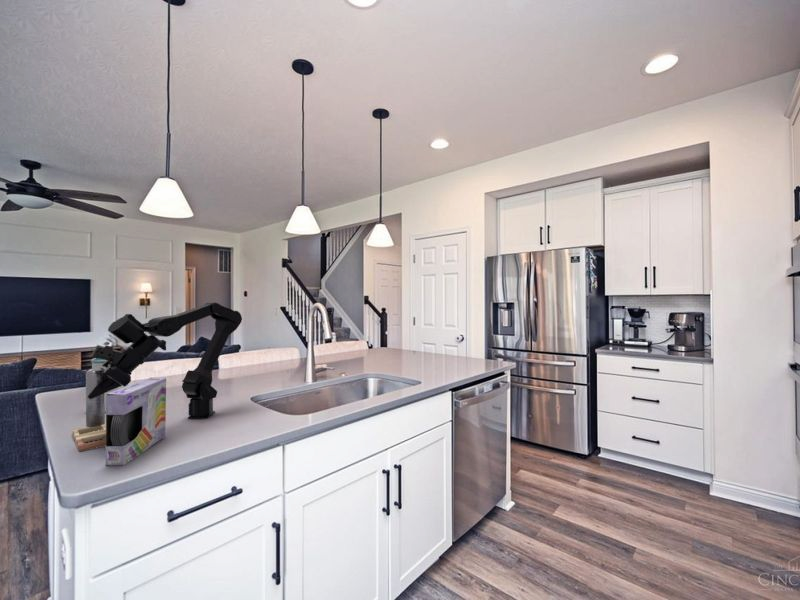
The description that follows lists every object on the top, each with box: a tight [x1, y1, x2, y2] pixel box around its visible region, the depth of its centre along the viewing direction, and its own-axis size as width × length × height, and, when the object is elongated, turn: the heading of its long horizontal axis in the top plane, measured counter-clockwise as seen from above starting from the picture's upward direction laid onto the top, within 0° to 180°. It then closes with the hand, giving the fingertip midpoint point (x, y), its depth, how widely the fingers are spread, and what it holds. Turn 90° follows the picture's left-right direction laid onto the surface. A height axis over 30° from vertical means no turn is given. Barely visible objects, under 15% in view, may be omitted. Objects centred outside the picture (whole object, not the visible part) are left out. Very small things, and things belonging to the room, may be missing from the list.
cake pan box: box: [104, 376, 167, 466], centre depth 95 cm, size 19×5×18 cm, turn 4°
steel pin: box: [85, 369, 106, 427], centre depth 101 cm, size 4×4×15 cm
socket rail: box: [72, 423, 106, 452], centre depth 104 cm, size 18×8×2 cm, turn 46°
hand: (88, 396), depth 100 cm, fingers closed on steel pin, 4 cm apart
